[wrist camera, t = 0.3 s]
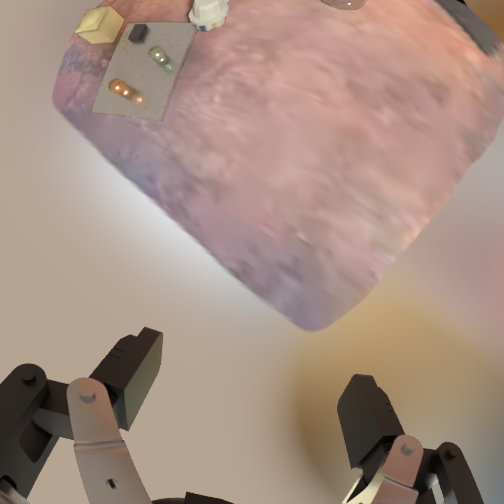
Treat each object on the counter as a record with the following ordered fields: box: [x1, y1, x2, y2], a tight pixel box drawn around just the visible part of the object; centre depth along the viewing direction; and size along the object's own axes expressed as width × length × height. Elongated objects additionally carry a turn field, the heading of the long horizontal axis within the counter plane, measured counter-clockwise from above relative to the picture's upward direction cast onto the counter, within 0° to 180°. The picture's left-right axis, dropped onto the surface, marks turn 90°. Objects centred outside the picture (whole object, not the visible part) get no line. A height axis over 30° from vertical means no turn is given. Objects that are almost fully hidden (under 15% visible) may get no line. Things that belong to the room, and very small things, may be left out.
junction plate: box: [92, 22, 198, 121], centre depth 29 cm, size 17×13×6 cm
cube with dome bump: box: [75, 6, 125, 44], centre depth 27 cm, size 5×5×7 cm
